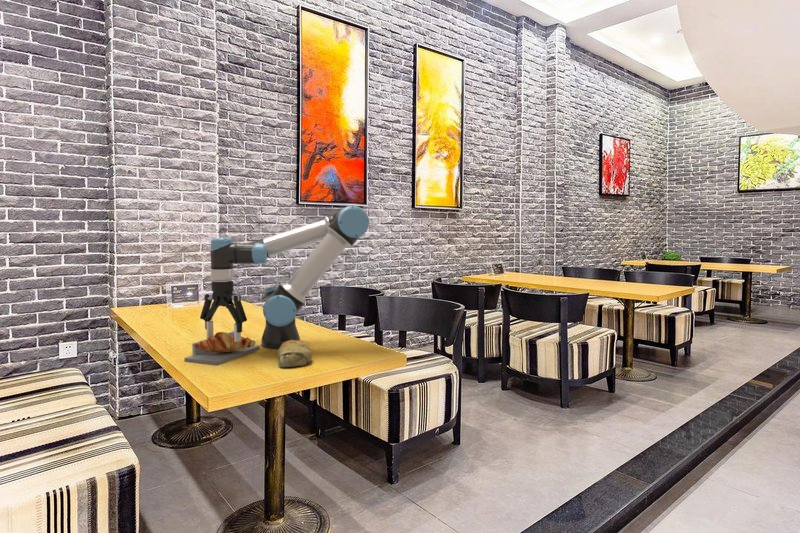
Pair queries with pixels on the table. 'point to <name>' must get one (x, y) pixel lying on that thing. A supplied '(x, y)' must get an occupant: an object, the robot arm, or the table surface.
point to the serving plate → (219, 356)
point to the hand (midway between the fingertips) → (223, 339)
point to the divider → (196, 351)
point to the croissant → (223, 343)
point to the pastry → (294, 354)
